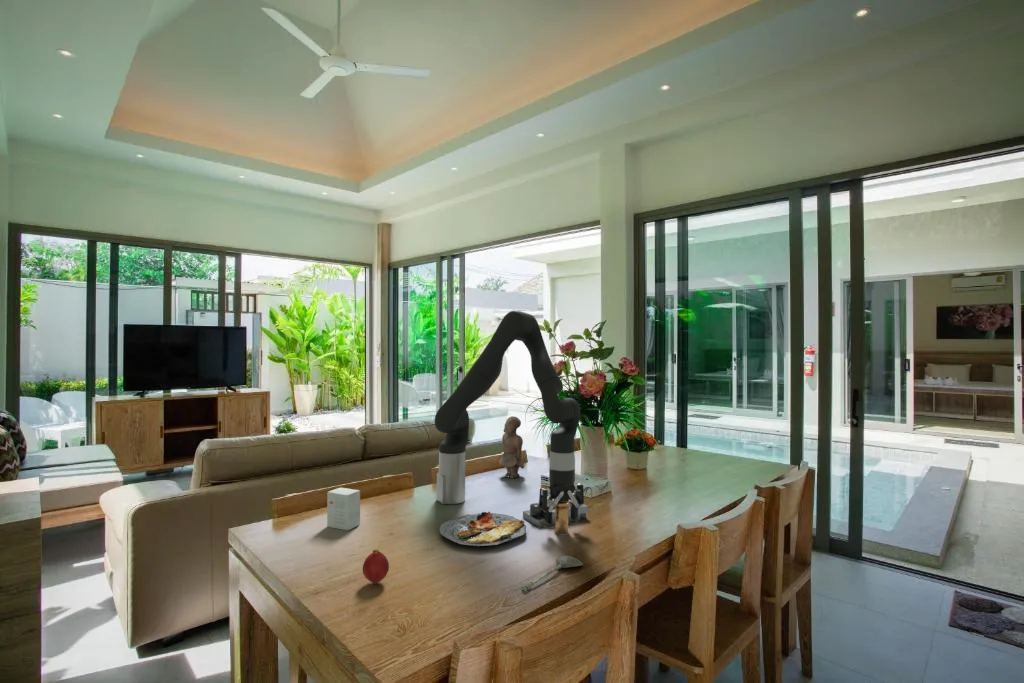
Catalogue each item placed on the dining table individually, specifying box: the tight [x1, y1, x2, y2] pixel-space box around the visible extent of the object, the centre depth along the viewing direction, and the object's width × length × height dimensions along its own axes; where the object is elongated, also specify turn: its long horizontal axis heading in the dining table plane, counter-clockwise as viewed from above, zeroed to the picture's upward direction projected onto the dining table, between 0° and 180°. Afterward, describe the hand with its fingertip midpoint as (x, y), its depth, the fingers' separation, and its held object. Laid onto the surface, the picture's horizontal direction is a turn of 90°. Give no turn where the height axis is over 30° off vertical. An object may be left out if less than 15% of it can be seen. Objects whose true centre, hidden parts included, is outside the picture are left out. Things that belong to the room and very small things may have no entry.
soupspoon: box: [521, 555, 584, 593], centre depth 123 cm, size 22×3×7 cm
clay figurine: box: [498, 416, 525, 479], centre depth 212 cm, size 13×10×25 cm
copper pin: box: [553, 499, 571, 535], centre depth 151 cm, size 5×5×9 cm
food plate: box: [439, 511, 527, 548], centre depth 149 cm, size 25×23×4 cm
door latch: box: [522, 491, 589, 528], centre depth 163 cm, size 18×10×7 cm, turn 118°
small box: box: [326, 486, 361, 531], centre depth 154 cm, size 8×6×10 cm
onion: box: [362, 548, 390, 585], centre depth 118 cm, size 6×6×8 cm
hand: (561, 521), depth 151 cm, fingers open, 8 cm apart
